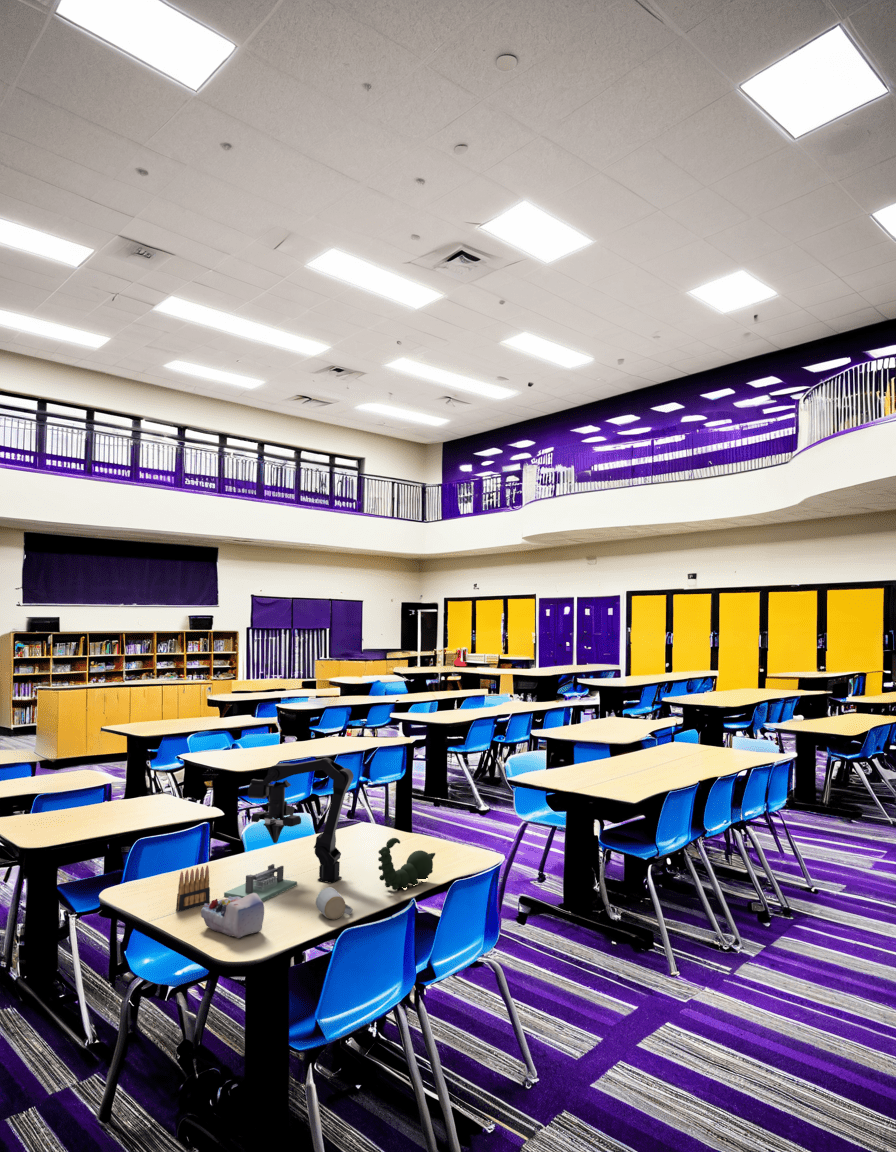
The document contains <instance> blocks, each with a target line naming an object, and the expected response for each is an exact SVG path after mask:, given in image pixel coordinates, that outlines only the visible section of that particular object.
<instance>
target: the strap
mask: <svg viewBox="0 0 896 1152" xmlns="http://www.w3.org/2000/svg"><path fill="white" fill-rule="evenodd" d="M272 873H274V874H275V873H277V867H274V868H271V869H269V870H268V869H267V870H264V871H261V872H258V873H255V874H254V875H256V877H255V878H253V880H257V879H259V878H262V877H265V876H267V875H270V874H272Z"/></svg>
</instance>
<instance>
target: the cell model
mask: <svg viewBox="0 0 896 1152" xmlns="http://www.w3.org/2000/svg"><path fill="white" fill-rule="evenodd" d="M200 916H201V918H202V919H203V921H204V924H205V925H206V927H207V928H209V929H211V930H212V931H214V932H218V933H223V934H224V935H227V936H229V937H235V938H236V939H240V938H243V937H244V936H246V935H250V934H255V933H259V932H261V931H262V930H263V925H264V924H263V923H264V916H265V905H264V901H263V902H262V900H261V899H260V897H259V896H258V894H257V893H252V894H249V895H247V896H245V897H243V898H241V897H239V896H237V897H231V896H230V897H226V898H223V899H220V900H218V898H214V899H212V900H211V901H210V903H209V904H206V903H205V904H204V905H203V906H202V908H201V910H200Z"/></svg>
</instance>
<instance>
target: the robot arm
mask: <svg viewBox="0 0 896 1152" xmlns="http://www.w3.org/2000/svg"><path fill="white" fill-rule="evenodd" d="M318 771H323V772H324V773H325V774H326V776H327V777H328V778H329V779H331V780H332V792H333V793H332V798H331V802H330V804H329V805H330V806H329V808H328V809H329V810H328V813H327V817H326V820H325V821H326V822H325V825H324V829H323V832H321V833H319V834H318V835H317V836H316V837H315V838H316V839H315V844H314V846H313V849H314V854H315V857H316V858H317V859H318V861H319V864H320V865H319V868H318V870H319V871H318V875H319V876H318V877H319V878H317V881H318V882H323V881H324V882H325V883H329V882H331V883H330V884H333V883H335V882H337V881H339V880H341V879H342V878H343V877H342V876H340V868H341V867H340V861H339V860H340V858H341V855H342V853H341V851H340V850H339V849H338V848H337V847H336V842H337V837H336V831H337V827H338V823H339V819H340V815H341V813H342V812H341V811H342V807H343V804H344V800H345V797H346V794H347V792H348V790H349V789H350V787H351V784H352V782H353V780H354V772H353V771H352V770H351V769H350V768H345V767H344V766H343V765H341V764H339V763H337V762H335V761H334V760H332V759H331V758H329V757H324V758H321V759H320V758H319V759H315V760H310V761H303V762H298V763H290V762H289V763H285V762H283V763H282V762H281V763H276V764H274V765H272V766H270V767H269V768H268V770H267V774H266V776H265V777H264V779H256V778H253V779H251V780H250V784H249V787H248V789H247V796H248V799H256V800H257V799H260V800H261V799H263V800H265V799H266V798H267V797H268V802H266V804H265V805H266V806H268V807H267V808H268V811H264V810H263V811H262V810H259V811H257V812H253V813H252V815H251V819H250V821H251V822H253V823H259V822H260V820H263V821H264V823H263V826H265V828H266V829H267V832H268V834H269V836H270V838H271V841H272V843H273V844H277V843H278V841H279V838H280V835H281V833H282V831H283V829H284V827H296V826H298V825H300V824H302V817H301V816H300V815H296V814H294V812H295V806H291V805H288V802H287V800H285V798H286V796H285V795H286V788H288V787H290V786H292V784H291V783H290V782H288V781H289V780H287V778H289V777H291V776H295V775H300V774H305V773H311V772H318ZM284 779H285V780H284ZM282 780H283V781H282ZM273 782H274V783H273ZM340 878H341V879H340ZM338 879H339V880H338ZM336 880H337V881H336ZM334 881H335V882H334Z"/></svg>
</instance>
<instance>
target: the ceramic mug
mask: <svg viewBox="0 0 896 1152" xmlns="http://www.w3.org/2000/svg"><path fill="white" fill-rule="evenodd" d="M315 906H316V909H317V910H318V911H319V912H320V913H321V914H322V915H323V916H324V917H326V918H327V919H329V920H338V919H339V918H341V917H342V916H343V915H351V914H352V912H353V908H352V907H351V906H350V905H348V904H346V901H345V899H344V897H343V896H342V895H341V894H340V893H339V891H337V889H335V888H334V887H329V886H328V887H325V888H323V889H321V890H320V891H319V893H318V894H317V896H316V899H315Z"/></svg>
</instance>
